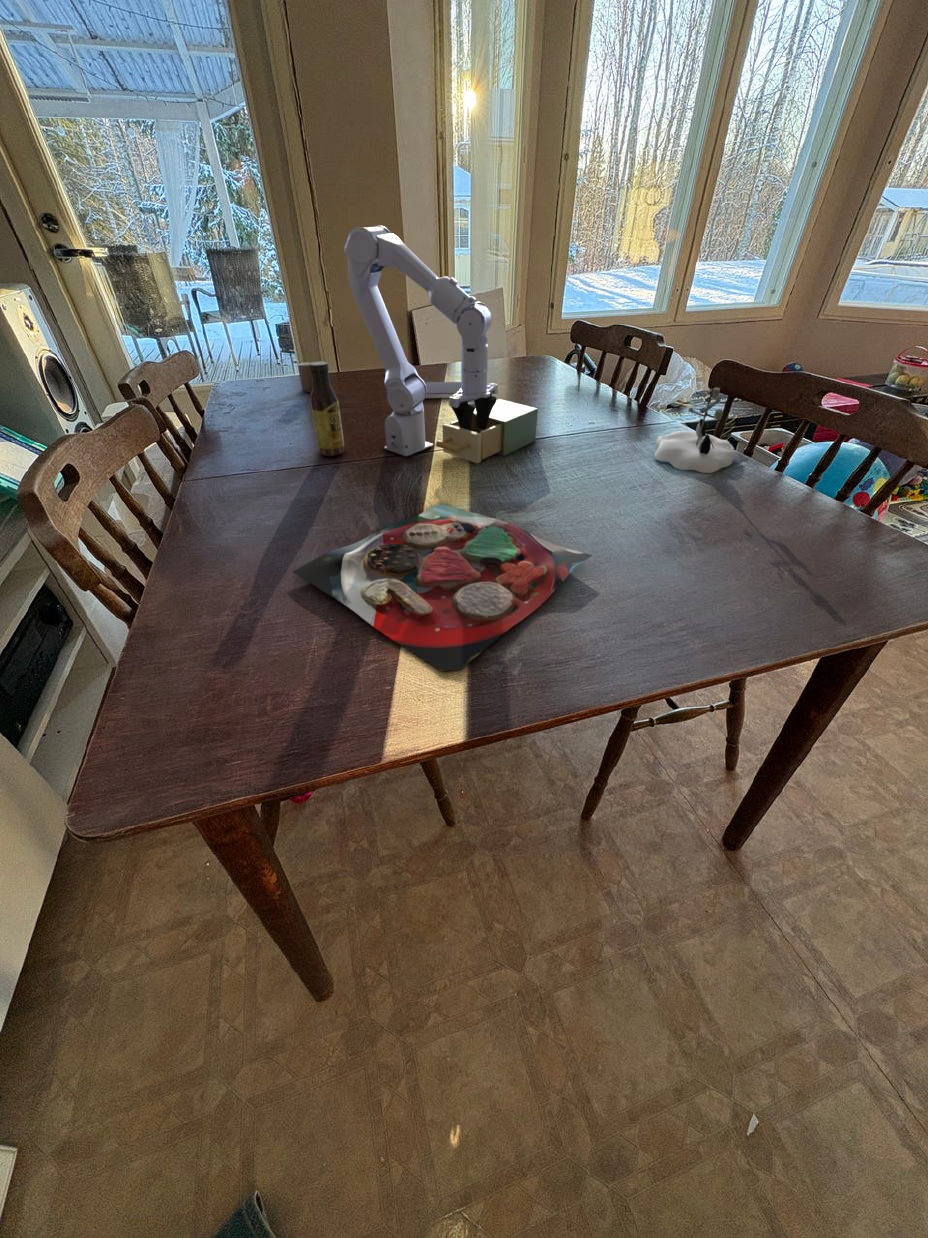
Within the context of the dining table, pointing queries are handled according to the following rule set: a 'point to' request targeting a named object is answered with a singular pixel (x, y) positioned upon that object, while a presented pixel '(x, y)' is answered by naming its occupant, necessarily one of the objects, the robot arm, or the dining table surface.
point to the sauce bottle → (325, 412)
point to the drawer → (472, 440)
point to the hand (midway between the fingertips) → (473, 431)
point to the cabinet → (514, 424)
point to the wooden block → (305, 377)
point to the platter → (444, 581)
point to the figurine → (697, 444)
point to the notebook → (442, 389)
